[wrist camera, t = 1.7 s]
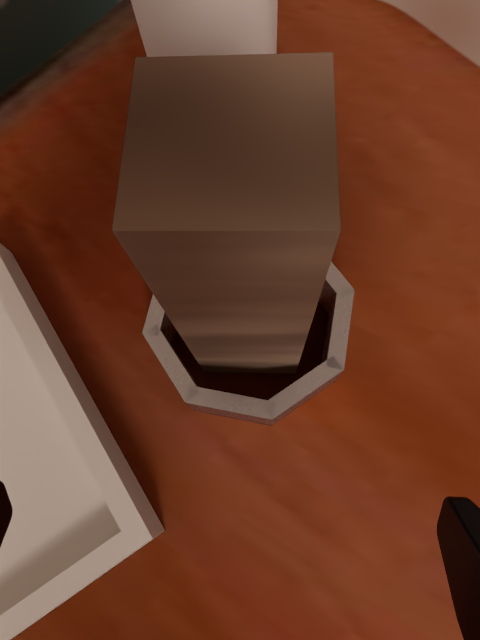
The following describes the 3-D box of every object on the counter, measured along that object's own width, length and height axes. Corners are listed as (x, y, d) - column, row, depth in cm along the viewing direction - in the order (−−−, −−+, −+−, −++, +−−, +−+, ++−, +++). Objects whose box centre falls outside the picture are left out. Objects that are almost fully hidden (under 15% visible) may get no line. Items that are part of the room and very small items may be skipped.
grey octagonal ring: (377, 351, 24) (392, 336, 21) (224, 457, 22) (218, 456, 19) (272, 220, 26) (273, 190, 23) (131, 308, 25) (114, 288, 22)
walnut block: (295, 374, 23) (340, 230, 9) (204, 372, 24) (111, 230, 10) (294, 288, 25) (332, 52, 11) (209, 288, 25) (135, 57, 11)
